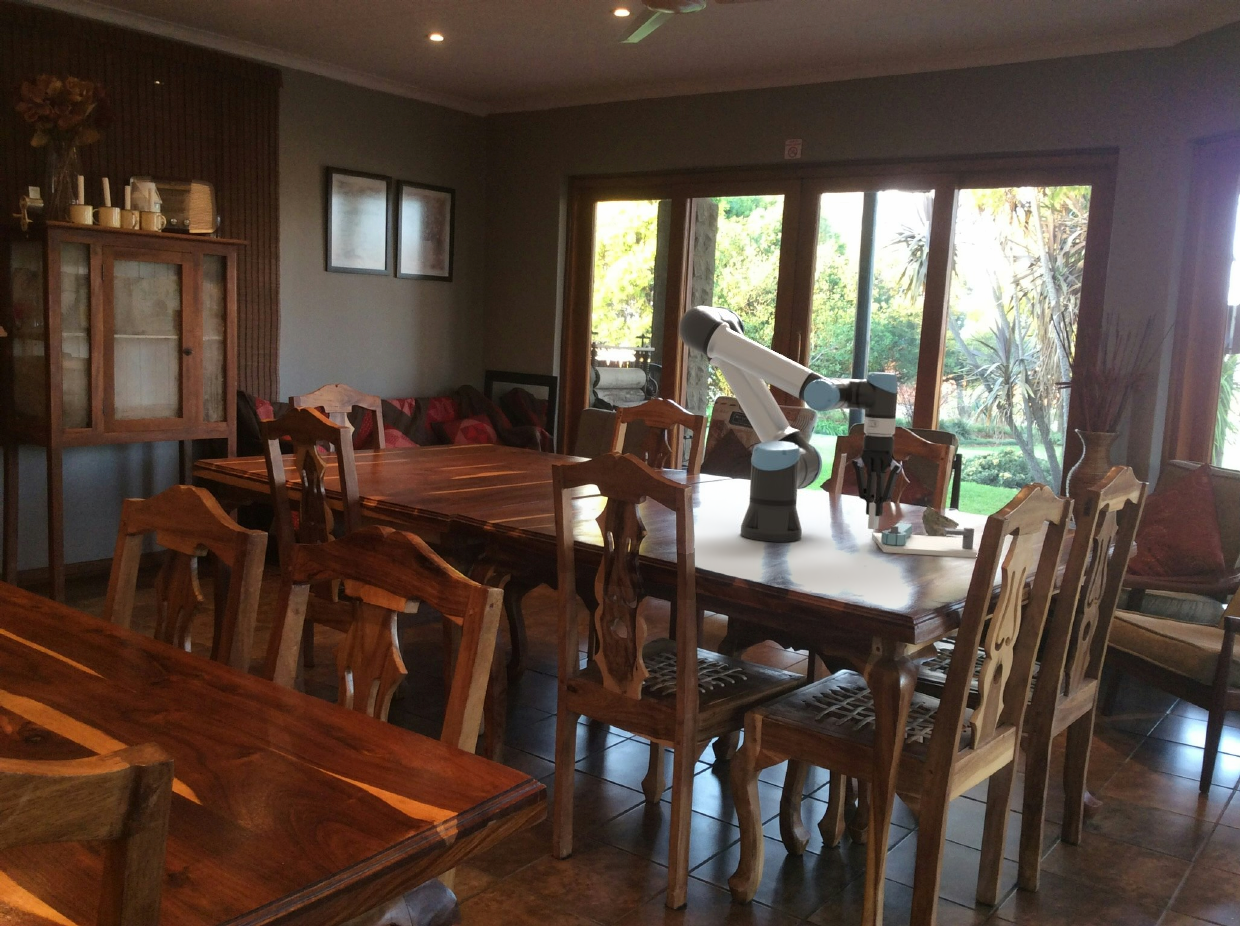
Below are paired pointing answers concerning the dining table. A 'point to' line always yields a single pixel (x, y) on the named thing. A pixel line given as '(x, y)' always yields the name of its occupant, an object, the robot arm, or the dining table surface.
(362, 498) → the dining table surface
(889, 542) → the link
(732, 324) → the robot arm
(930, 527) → the rock
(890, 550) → the board
